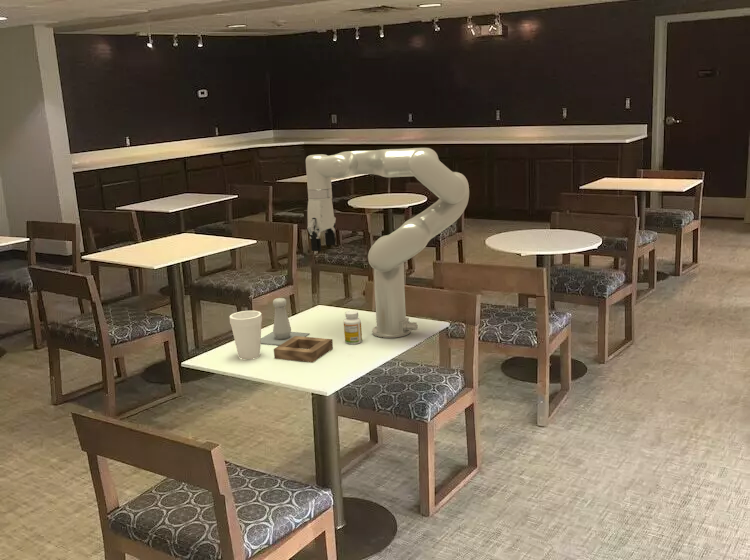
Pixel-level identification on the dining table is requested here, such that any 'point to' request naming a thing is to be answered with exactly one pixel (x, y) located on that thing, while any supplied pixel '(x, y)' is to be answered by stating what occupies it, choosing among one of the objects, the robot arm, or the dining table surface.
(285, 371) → the dining table surface
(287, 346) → the block
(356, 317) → the supplement bottle
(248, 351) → the foam cup
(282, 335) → the salt shaker
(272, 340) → the grey mat
